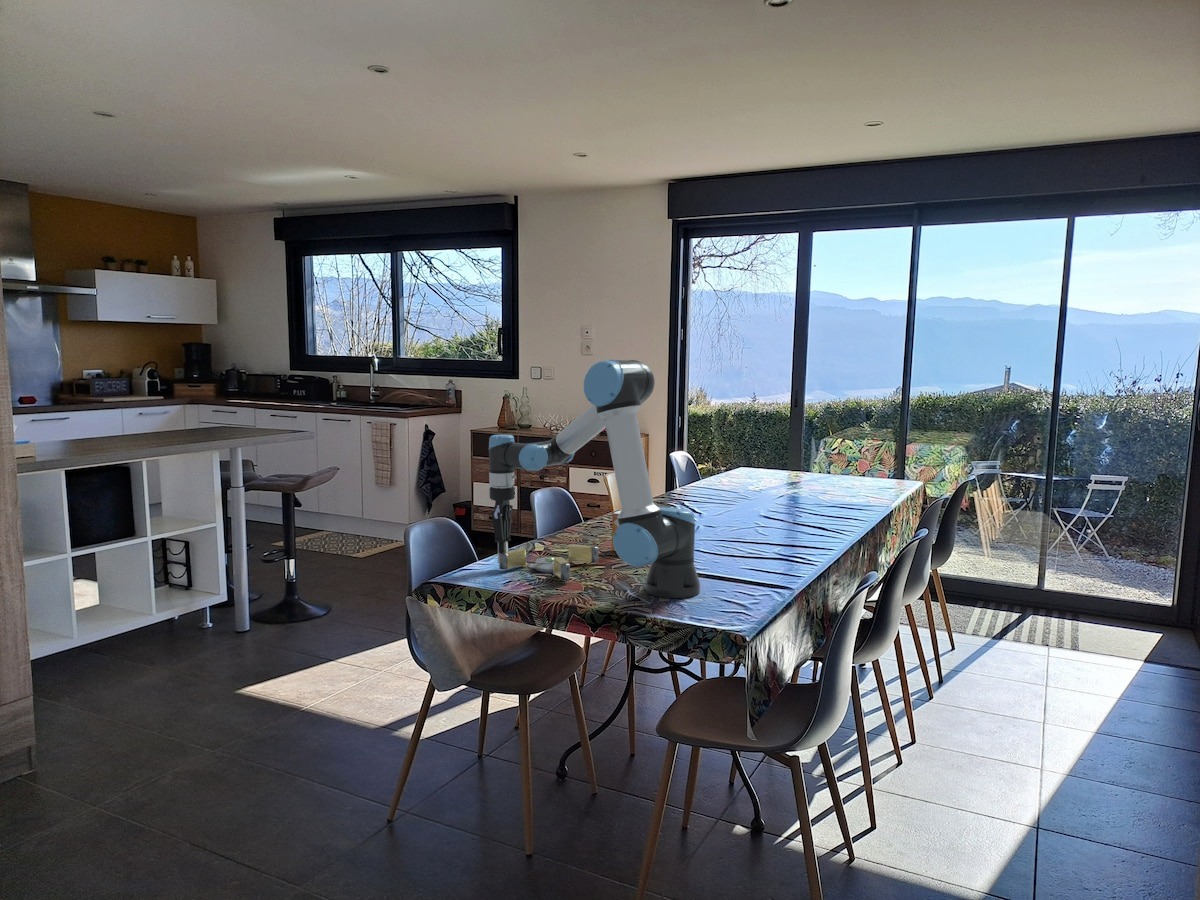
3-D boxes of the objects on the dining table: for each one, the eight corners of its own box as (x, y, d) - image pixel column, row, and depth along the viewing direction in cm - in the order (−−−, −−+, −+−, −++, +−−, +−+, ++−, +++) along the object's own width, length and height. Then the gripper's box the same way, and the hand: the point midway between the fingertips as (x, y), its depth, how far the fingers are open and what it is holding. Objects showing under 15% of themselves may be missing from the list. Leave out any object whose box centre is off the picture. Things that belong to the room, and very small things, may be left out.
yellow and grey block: (523, 565, 246) (523, 547, 246) (528, 566, 244) (528, 549, 244) (497, 571, 239) (497, 553, 238) (503, 573, 237) (503, 555, 236)
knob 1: (552, 574, 235) (552, 556, 235) (561, 574, 236) (561, 555, 236) (562, 584, 226) (562, 565, 225) (570, 583, 226) (570, 564, 226)
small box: (611, 551, 265) (611, 512, 263) (620, 547, 270) (620, 509, 269) (633, 554, 261) (633, 515, 259) (641, 550, 266) (642, 512, 265)
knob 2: (565, 563, 248) (565, 546, 248) (567, 561, 251) (567, 544, 250) (597, 565, 245) (597, 548, 245) (599, 563, 248) (599, 546, 247)
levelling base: (559, 574, 236) (559, 563, 236) (524, 572, 238) (524, 561, 238) (569, 564, 248) (569, 554, 247) (535, 562, 250) (535, 552, 250)
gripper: (507, 490, 232) (508, 568, 235) (520, 483, 245) (521, 558, 248) (482, 489, 234) (484, 567, 236) (497, 482, 246) (498, 556, 249)
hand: (503, 562), depth 242 cm, fingers closed
